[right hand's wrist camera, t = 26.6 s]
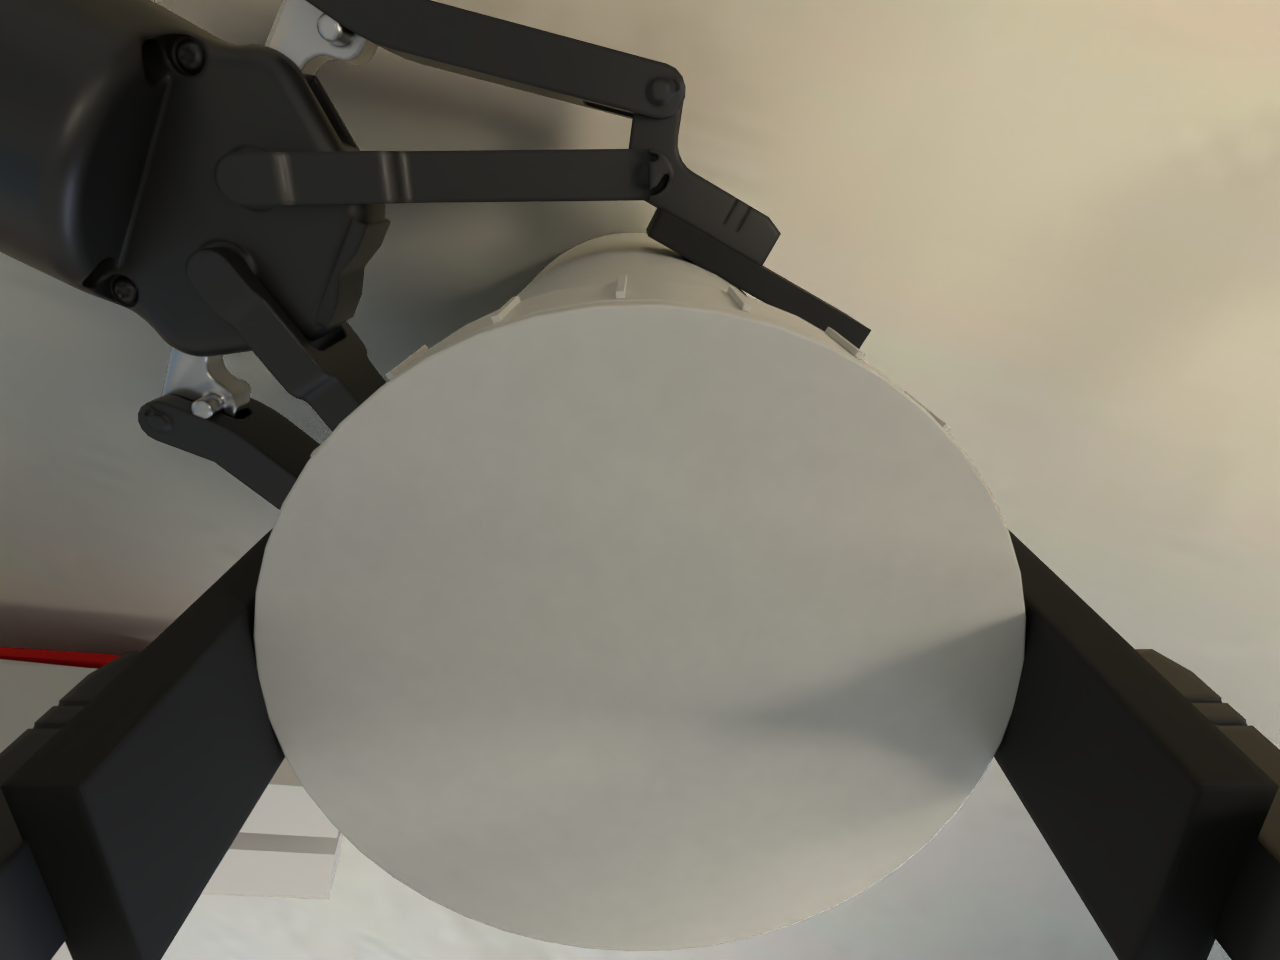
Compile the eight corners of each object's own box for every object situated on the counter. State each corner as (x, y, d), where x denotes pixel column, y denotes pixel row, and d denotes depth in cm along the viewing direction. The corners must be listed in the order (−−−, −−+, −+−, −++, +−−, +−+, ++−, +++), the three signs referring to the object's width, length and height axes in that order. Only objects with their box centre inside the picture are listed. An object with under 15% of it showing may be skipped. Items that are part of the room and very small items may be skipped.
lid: (578, 921, 15) (569, 1037, 13) (173, 535, 12) (77, 609, 10) (1069, 672, 13) (1150, 764, 11) (736, 106, 10) (763, 86, 8)
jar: (460, 302, 28) (205, 485, 11) (698, 184, 26) (805, 197, 10) (577, 515, 31) (513, 895, 15) (794, 421, 29) (994, 728, 13)
